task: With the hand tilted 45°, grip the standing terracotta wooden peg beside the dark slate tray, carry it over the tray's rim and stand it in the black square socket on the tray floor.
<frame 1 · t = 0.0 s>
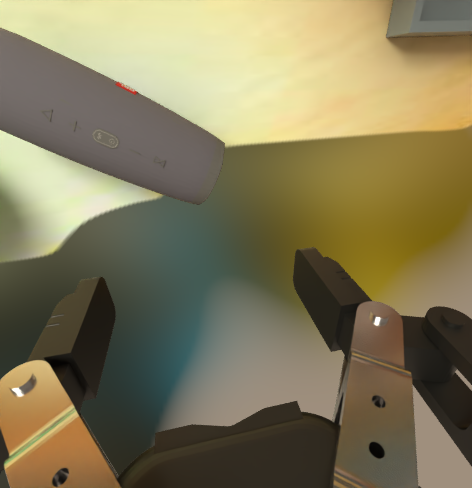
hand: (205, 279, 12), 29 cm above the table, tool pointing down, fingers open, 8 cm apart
bluetooth speaker: (123, 124, 34), on the table
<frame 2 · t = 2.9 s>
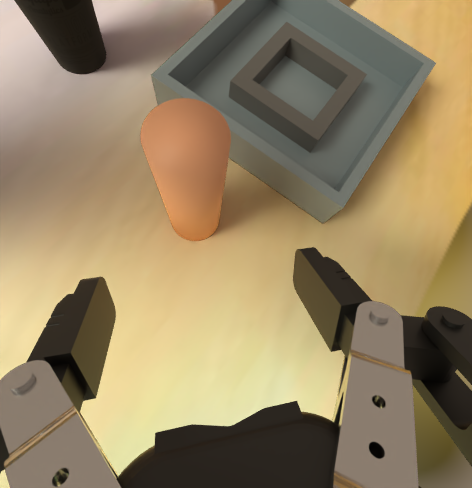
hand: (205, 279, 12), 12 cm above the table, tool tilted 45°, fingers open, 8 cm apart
peg: (195, 217, 25), on the table
tray: (291, 100, 29), on the table
drinking cup: (82, 56, 28), on the table
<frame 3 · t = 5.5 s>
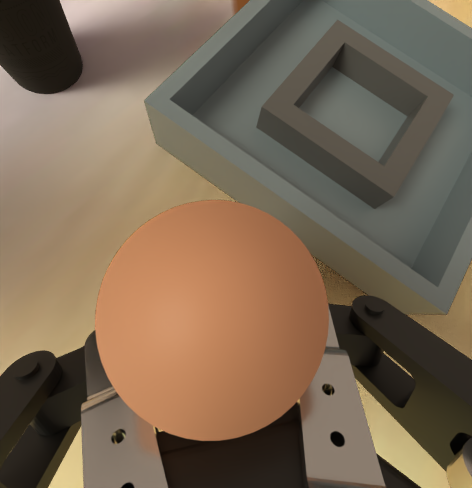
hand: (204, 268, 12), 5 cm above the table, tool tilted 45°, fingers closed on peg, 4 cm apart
peg: (209, 311, 17), on the table, touching gripper
tray: (341, 129, 21), on the table
drinking cup: (49, 68, 20), on the table
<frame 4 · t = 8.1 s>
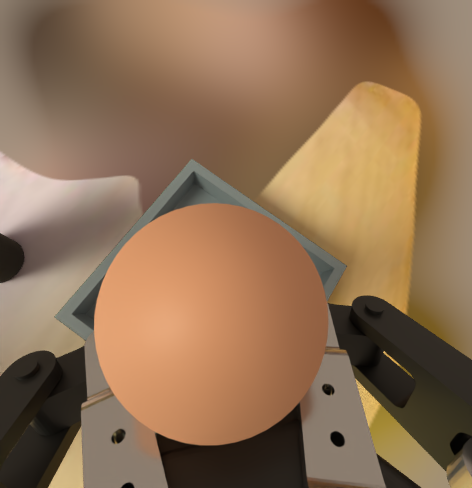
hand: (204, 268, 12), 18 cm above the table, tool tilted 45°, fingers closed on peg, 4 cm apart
peg: (209, 312, 17), point 13 cm above the table, touching gripper
tray: (211, 292, 30), on the table
drinking cup: (0, 260, 28), on the table
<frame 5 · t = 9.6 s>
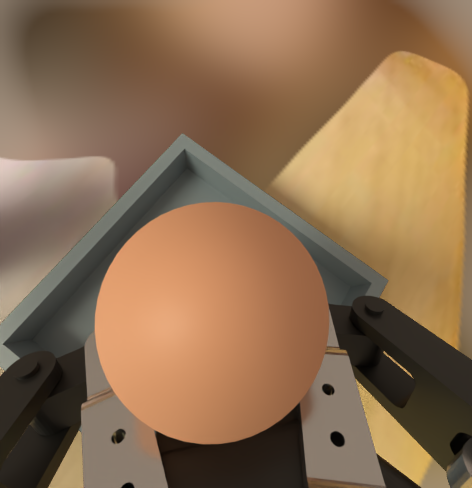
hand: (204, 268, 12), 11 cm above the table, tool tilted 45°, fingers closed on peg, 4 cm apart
peg: (209, 312, 17), point 6 cm above the table, touching gripper
tray: (205, 310, 23), on the table
when the fingers open (7 cm above the table, at t = 10.7 s): peg drops 1 cm, resting on tray.
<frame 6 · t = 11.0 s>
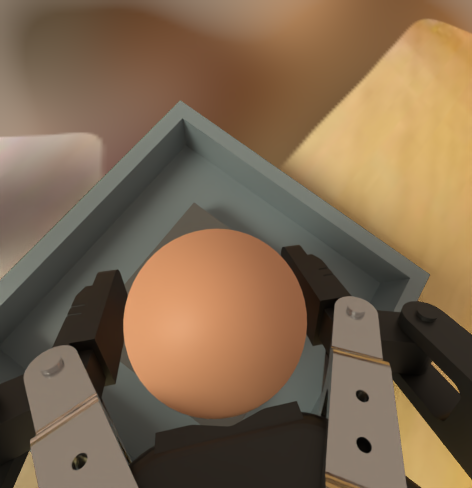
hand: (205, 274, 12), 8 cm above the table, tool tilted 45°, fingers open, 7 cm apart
peg: (210, 313, 18), point 1 cm above the table, touching tray
tray: (208, 312, 19), on the table
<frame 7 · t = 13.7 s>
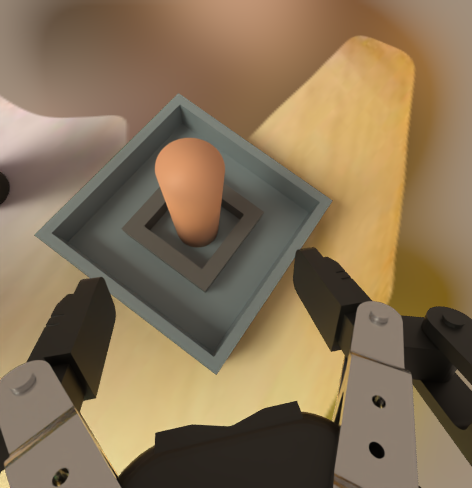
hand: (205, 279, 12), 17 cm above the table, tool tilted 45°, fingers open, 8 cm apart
peg: (197, 227, 29), point 1 cm above the table, touching tray
tray: (196, 229, 30), on the table
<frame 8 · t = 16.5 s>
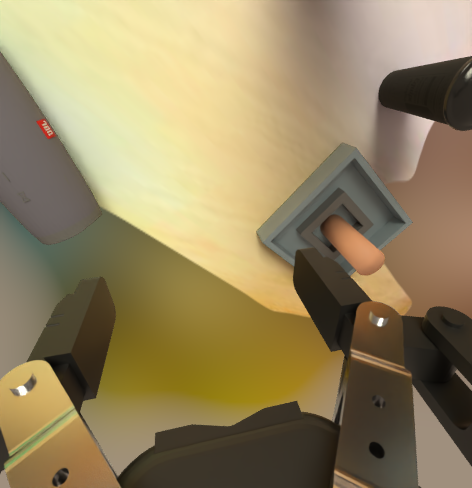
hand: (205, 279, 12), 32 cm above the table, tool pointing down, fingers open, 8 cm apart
peg: (331, 225, 50), point 1 cm above the table, touching tray
tray: (329, 222, 51), on the table
drinking cup: (392, 89, 41), on the table
bluetooth speaker: (32, 134, 35), on the table
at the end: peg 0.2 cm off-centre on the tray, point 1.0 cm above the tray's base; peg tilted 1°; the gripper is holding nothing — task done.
